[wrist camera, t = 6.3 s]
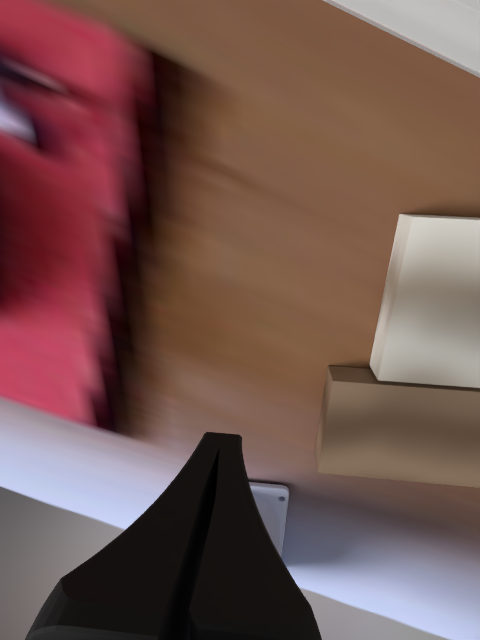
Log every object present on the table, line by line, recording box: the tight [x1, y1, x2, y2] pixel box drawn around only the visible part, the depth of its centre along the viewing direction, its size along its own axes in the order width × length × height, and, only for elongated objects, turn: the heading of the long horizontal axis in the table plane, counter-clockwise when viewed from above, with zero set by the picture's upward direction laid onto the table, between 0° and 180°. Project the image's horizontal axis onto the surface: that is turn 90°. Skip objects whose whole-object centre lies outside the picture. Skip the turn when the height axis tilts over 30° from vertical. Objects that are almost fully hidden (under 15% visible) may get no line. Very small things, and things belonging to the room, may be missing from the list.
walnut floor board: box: [315, 366, 480, 488], centre depth 22 cm, size 7×16×2 cm, turn 88°
